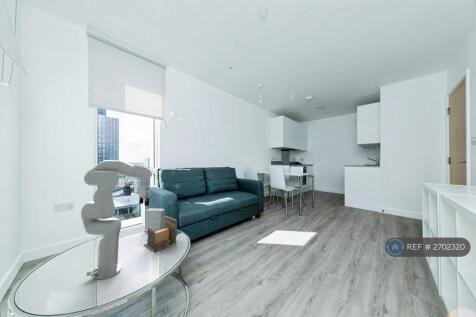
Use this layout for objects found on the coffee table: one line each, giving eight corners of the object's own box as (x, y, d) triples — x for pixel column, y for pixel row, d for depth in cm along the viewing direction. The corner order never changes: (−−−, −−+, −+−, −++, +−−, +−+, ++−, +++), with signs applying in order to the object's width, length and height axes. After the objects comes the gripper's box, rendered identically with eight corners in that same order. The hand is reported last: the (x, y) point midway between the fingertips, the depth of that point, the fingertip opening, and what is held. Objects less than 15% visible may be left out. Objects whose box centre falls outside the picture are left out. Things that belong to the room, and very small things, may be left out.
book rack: (154, 252, 127) (155, 226, 127) (143, 245, 137) (144, 220, 137) (176, 244, 141) (177, 220, 142) (165, 238, 151) (166, 215, 152)
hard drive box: (164, 229, 169) (165, 208, 169) (160, 233, 161) (161, 211, 162) (149, 228, 171) (150, 208, 171) (144, 231, 163) (145, 210, 163)
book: (154, 247, 133) (154, 233, 133) (151, 245, 136) (152, 232, 136) (168, 241, 143) (169, 229, 143) (166, 240, 145) (166, 228, 145)
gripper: (154, 184, 140) (153, 205, 140) (144, 182, 151) (143, 202, 151) (145, 185, 135) (144, 207, 134) (135, 182, 145) (134, 203, 145)
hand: (144, 204), depth 142 cm, fingers open, 9 cm apart
